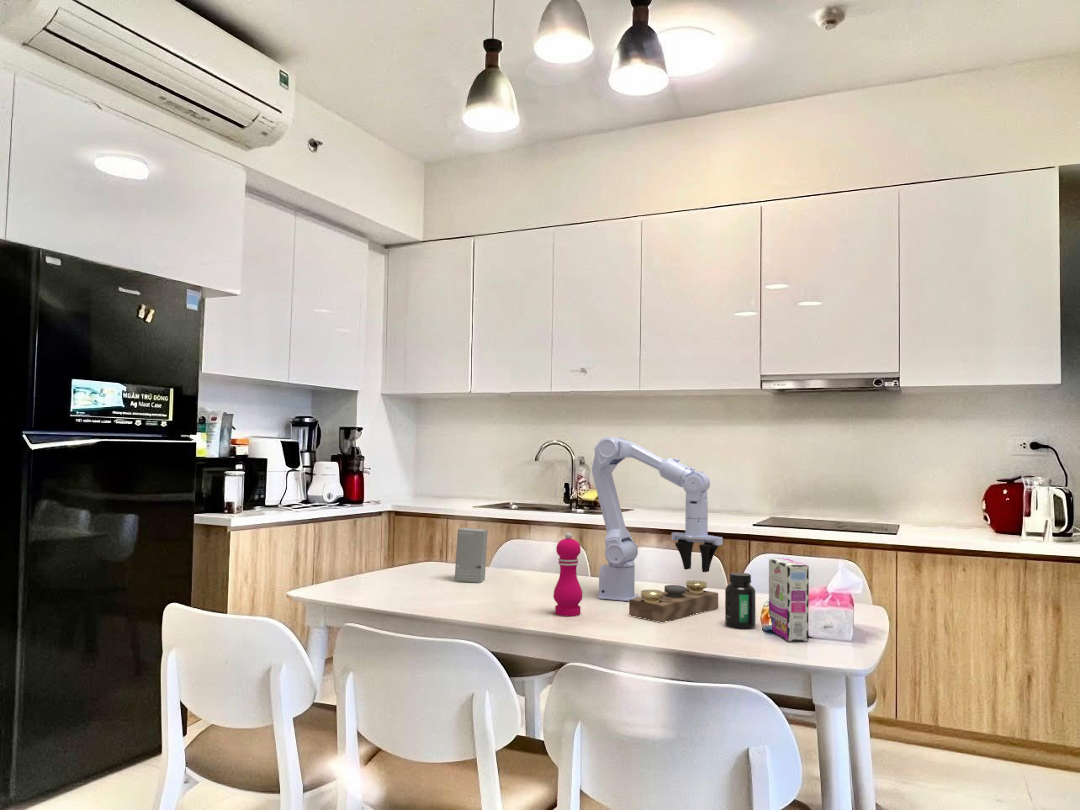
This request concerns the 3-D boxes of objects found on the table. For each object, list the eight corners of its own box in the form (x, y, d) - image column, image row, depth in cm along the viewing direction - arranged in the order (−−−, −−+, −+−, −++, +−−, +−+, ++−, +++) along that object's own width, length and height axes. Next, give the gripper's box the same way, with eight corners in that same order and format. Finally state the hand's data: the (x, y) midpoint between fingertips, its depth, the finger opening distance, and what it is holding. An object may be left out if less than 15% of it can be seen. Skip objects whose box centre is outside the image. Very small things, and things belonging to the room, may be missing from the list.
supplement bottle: (750, 630, 171) (750, 577, 172) (721, 626, 175) (721, 574, 175) (759, 625, 177) (758, 573, 177) (730, 621, 180) (730, 570, 181)
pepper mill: (585, 611, 188) (586, 531, 189) (577, 618, 182) (578, 534, 183) (558, 609, 191) (559, 530, 192) (549, 615, 184) (550, 533, 185)
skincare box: (454, 582, 227) (455, 529, 227) (460, 578, 234) (461, 526, 235) (481, 583, 225) (482, 530, 226) (487, 579, 232) (488, 527, 233)
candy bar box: (810, 642, 162) (809, 565, 162) (787, 642, 161) (787, 565, 162) (788, 629, 173) (788, 557, 174) (767, 629, 172) (767, 557, 173)
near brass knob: (653, 615, 179) (654, 594, 179) (636, 611, 183) (636, 591, 183) (666, 611, 183) (667, 591, 183) (649, 608, 186) (649, 588, 187)
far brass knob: (699, 603, 192) (699, 584, 193) (682, 600, 196) (682, 582, 196) (710, 601, 196) (710, 582, 196) (693, 598, 200) (693, 579, 200)
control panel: (662, 623, 177) (662, 605, 178) (629, 615, 185) (629, 599, 185) (718, 608, 194) (718, 592, 194) (685, 602, 201) (685, 587, 201)
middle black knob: (677, 609, 186) (677, 589, 186) (660, 605, 189) (660, 586, 190) (689, 606, 189) (689, 587, 190) (672, 603, 193) (672, 584, 193)
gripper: (664, 516, 200) (664, 568, 199) (711, 521, 189) (711, 575, 188) (680, 515, 204) (680, 565, 204) (727, 519, 194) (727, 572, 193)
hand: (696, 570), depth 196 cm, fingers open, 5 cm apart
